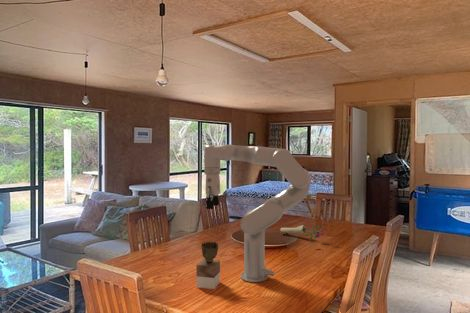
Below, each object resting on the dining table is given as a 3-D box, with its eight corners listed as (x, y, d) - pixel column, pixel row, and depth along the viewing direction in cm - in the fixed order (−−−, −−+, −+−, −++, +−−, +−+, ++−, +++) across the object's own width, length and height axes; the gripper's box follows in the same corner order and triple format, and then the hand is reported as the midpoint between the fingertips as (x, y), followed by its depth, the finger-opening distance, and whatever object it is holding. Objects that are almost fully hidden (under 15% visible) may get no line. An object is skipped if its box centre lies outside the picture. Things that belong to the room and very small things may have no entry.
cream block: (219, 282, 156) (219, 271, 155) (214, 289, 148) (214, 277, 148) (202, 280, 157) (202, 269, 157) (196, 287, 150) (196, 276, 149)
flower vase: (288, 244, 242) (330, 243, 217) (276, 242, 235) (319, 240, 209) (288, 227, 246) (330, 224, 221) (276, 225, 239) (318, 221, 213)
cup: (199, 258, 156) (200, 241, 154) (215, 257, 157) (216, 240, 156) (202, 265, 148) (203, 248, 147) (219, 264, 150) (220, 247, 149)
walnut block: (219, 271, 155) (219, 260, 155) (214, 278, 147) (213, 266, 147) (203, 270, 157) (203, 259, 157) (196, 276, 150) (196, 264, 149)
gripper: (215, 172, 154) (215, 210, 155) (224, 170, 171) (224, 204, 172) (199, 172, 156) (199, 210, 156) (209, 169, 173) (210, 204, 173)
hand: (212, 207), depth 164 cm, fingers open, 9 cm apart
